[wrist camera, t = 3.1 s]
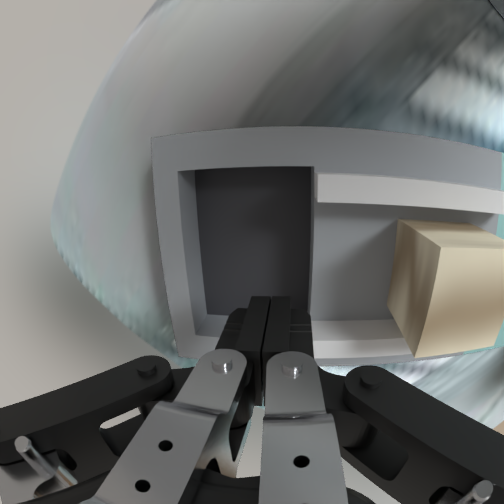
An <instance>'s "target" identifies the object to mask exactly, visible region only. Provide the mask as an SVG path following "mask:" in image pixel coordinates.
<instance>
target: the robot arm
mask: <svg viewBox="0 0 504 504" xmlns="http://www.w3.org/2000/svg"><path fill="white" fill-rule="evenodd" d="M489 1H490V2H491V3H492V5H493V6H494V7H495V9H496V10H497V11H498V12H499V13H500V14H501V16H502V17H503V18H504V0H489ZM263 396H264V406H265V416H264V418H263V435H262V453H261V472H260V476H255V477H245V478H236V473H237V467H238V464H239V461H240V458H241V455H242V452H243V449H244V446H245V442H246V439H247V436H248V433H249V429H250V426H251V417H252V413H253V408H254V406H262V402H263ZM137 407H138V409H139V411H140V413H141V414H140V415H138V416H136V417H133V418H131V419H129V420H127V421H125V422H122V423H120V424H118V425H115V426H113V427H111V428H107V429H103V428H100V425H101V424H102V423H103V422H105V421H107V420H109V419H112V418H114V417H117V416H119V415H121V414H124V413H126V412H128V411H130V410H133V409H135V408H137ZM341 457H342V458H343V459H344V460H346V461H347V462H348V463H349V464H351V465H352V466H353V467H354V468H355V469H357V470H358V471H359V472H360V473H361V474H363V475H364V476H365V477H366V478H368V479H369V480H370V481H372V482H373V483H374V484H375V485H377V486H378V487H379V488H381V489H382V490H383V491H385V492H386V493H387V494H389V495H390V496H391V497H393V498H394V499H396V500H397V501H398V502H400V503H401V504H504V435H502V434H500V433H498V432H496V431H494V430H493V429H491V428H489V427H487V426H485V425H483V424H481V423H479V422H477V421H476V420H474V419H472V418H470V417H468V416H466V415H465V414H463V413H461V412H459V411H457V410H455V409H454V408H452V407H450V406H448V405H446V404H445V403H443V402H441V401H439V400H437V399H436V398H434V397H432V396H430V395H429V394H427V393H425V392H423V391H422V390H420V389H418V388H416V387H415V386H413V385H411V384H409V383H408V382H406V381H404V380H402V379H401V378H399V377H397V376H396V375H394V374H392V373H390V372H389V371H387V370H385V369H383V368H381V367H377V366H368V365H367V366H360V367H357V368H354V369H353V370H351V371H350V372H349V373H348V374H347V375H346V376H340V375H335V374H331V373H329V372H326V371H324V370H323V369H321V368H320V367H319V366H318V365H317V363H316V361H315V360H314V350H313V337H312V326H311V316H310V314H309V313H308V312H307V311H306V310H305V309H291V296H272V299H271V296H251V299H250V302H249V305H248V308H237V309H236V310H234V311H233V312H232V313H231V314H229V317H228V319H227V321H226V324H225V326H224V330H223V331H222V333H221V336H220V338H219V340H218V343H217V345H216V347H215V350H212V351H210V352H208V353H206V354H204V355H203V356H202V357H201V358H200V359H199V361H198V362H197V364H196V366H195V367H190V368H182V369H171V367H170V364H169V362H168V361H167V360H166V359H164V358H162V357H159V356H144V357H140V358H137V359H134V360H133V361H130V362H127V363H125V364H122V365H120V366H117V367H115V368H112V369H110V370H108V371H105V372H103V373H100V374H97V375H95V376H92V377H89V378H87V379H84V380H82V381H79V382H76V383H73V384H71V385H68V386H65V387H63V388H60V389H57V390H54V391H51V392H48V393H46V394H43V395H40V396H37V397H34V398H31V399H28V400H25V401H22V402H19V403H16V404H13V405H9V406H6V407H3V408H0V496H1V500H2V504H375V503H374V502H373V501H372V500H370V499H369V498H368V497H366V496H364V495H363V494H361V493H359V492H357V491H355V490H353V489H350V488H347V487H346V485H345V479H344V472H343V466H342V461H341Z"/></svg>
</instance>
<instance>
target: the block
mask: <svg viewBox="0 0 504 504" xmlns="http://www.w3.org/2000/svg"><path fill="white" fill-rule="evenodd" d="M387 307H388V308H389V310H390V312H391V314H392V316H393V318H394V319H395V321H396V323H397V325H398V327H399V329H400V331H401V333H402V335H403V337H404V339H405V340H406V342H407V344H408V346H409V348H410V350H411V352H412V354H413V356H414V358H420V357H429V356H437V355H444V354H451V353H458V352H464V351H470V350H475V349H480V348H486V347H491V346H494V344H495V341H496V339H497V336H498V333H499V331H500V328H501V325H502V323H503V320H504V239H502V238H500V237H498V236H496V235H494V234H492V233H490V232H488V231H486V230H484V229H481V228H479V227H477V226H475V225H473V224H471V223H462V222H447V221H431V220H412V219H398V222H397V233H396V243H395V252H394V260H393V268H392V275H391V281H390V288H389V294H388V299H387Z"/></svg>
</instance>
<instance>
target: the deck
mask: <svg viewBox="0 0 504 504" xmlns="http://www.w3.org/2000/svg"><path fill="white" fill-rule="evenodd" d="M151 152H152V170H153V184H154V197H155V208H156V218H157V227H158V236H159V244H160V252H161V259H162V267H163V273H164V280H165V286H166V292H167V298H168V304H169V310H170V315H171V321H172V326H173V331H174V336H175V341H176V345H177V350H178V355H179V357H186V358H194V359H200V358H201V357H202V356H203V355H204V354H206V353H208V352H210V351H212V350H215V347H216V345H217V343H218V340H219V338H220V336H221V333H222V331H223V330H224V326H225V324H226V321H227V319H228V317H229V314H231V313H232V312H233V311H234V310H236V309H237V308H248V305H249V302H250V299H251V296H271V299H272V296H291V309H305V310H306V311H307V312H308V313H309V314H310V316H311V326H312V337H313V350H314V360H315V361H316V363H317V365H318V366H353V365H373V364H388V363H400V362H410V361H420V360H428V359H436V358H443V357H450V356H456V355H462V354H468V353H473V352H479V351H484V350H489V349H493V348H498V347H502V346H504V320H503V323H502V325H501V328H500V331H499V333H498V336H497V339H496V341H495V344H494V346H491V347H486V348H480V349H475V350H470V351H464V352H458V353H451V354H444V355H437V356H429V357H420V358H414V356H413V354H412V352H411V350H410V348H409V346H408V344H407V342H406V340H405V339H404V337H403V335H402V333H401V331H400V329H399V327H398V325H397V323H396V321H395V319H394V318H393V316H392V314H391V312H390V310H389V308H388V307H387V299H388V294H389V288H390V281H391V275H392V268H393V260H394V252H395V243H396V233H397V222H398V219H412V220H431V221H447V222H462V223H471V224H473V225H475V226H477V227H479V228H481V229H484V230H486V231H488V232H490V233H492V234H494V235H496V236H498V237H500V238H502V239H504V153H501V152H498V151H494V150H490V149H486V148H482V147H478V146H474V145H469V144H465V143H460V142H455V141H450V140H445V139H439V138H434V137H428V136H421V135H414V134H407V133H399V132H391V131H381V130H371V129H358V128H342V127H315V126H276V127H249V128H232V129H219V130H208V131H198V132H190V133H181V134H174V135H167V136H160V137H154V138H151Z"/></svg>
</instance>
